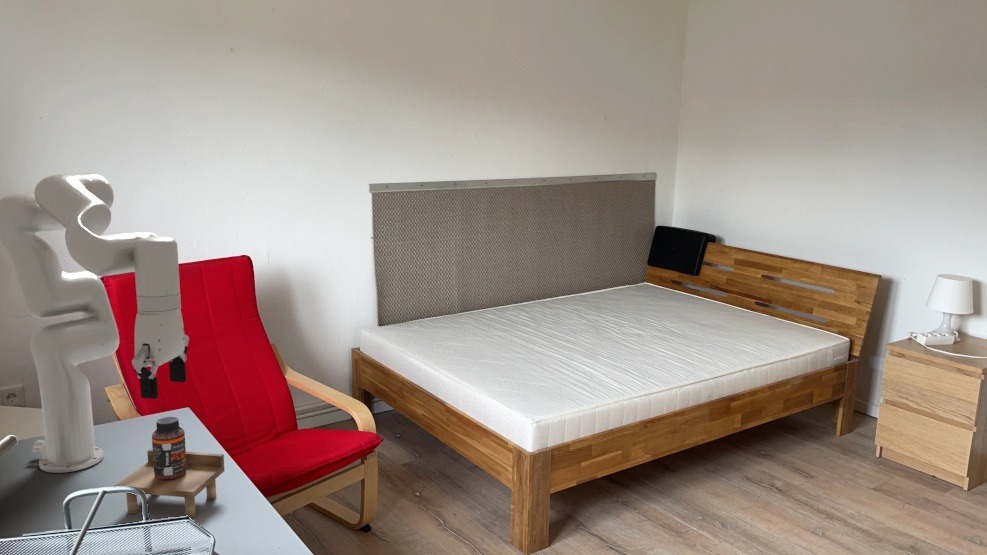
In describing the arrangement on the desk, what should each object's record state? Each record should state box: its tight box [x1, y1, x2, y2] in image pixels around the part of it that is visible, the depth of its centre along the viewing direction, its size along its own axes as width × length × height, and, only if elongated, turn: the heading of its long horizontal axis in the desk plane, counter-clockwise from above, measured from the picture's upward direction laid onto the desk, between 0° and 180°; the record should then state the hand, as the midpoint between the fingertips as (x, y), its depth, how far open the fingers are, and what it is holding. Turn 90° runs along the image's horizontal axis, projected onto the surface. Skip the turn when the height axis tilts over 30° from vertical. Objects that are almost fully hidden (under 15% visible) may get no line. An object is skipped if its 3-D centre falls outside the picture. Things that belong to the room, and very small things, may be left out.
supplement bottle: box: [151, 416, 187, 480], centre depth 150 cm, size 6×6×11 cm
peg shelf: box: [114, 448, 225, 520], centre depth 151 cm, size 16×12×9 cm
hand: (164, 389), depth 148 cm, fingers open, 9 cm apart
